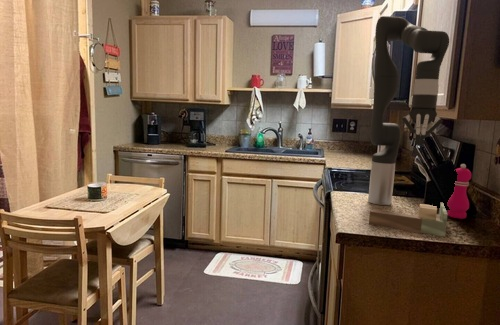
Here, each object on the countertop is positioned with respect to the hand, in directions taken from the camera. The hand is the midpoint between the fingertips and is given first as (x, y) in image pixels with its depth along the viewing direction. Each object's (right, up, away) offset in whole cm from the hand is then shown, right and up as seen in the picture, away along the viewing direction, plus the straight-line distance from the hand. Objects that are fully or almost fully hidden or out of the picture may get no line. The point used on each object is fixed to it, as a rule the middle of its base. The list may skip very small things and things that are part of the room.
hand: (419, 145), depth 124 cm
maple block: (+2, -25, -2) cm, 25 cm away
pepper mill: (+21, -26, +14) cm, 36 cm away
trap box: (-3, -27, +4) cm, 27 cm away
